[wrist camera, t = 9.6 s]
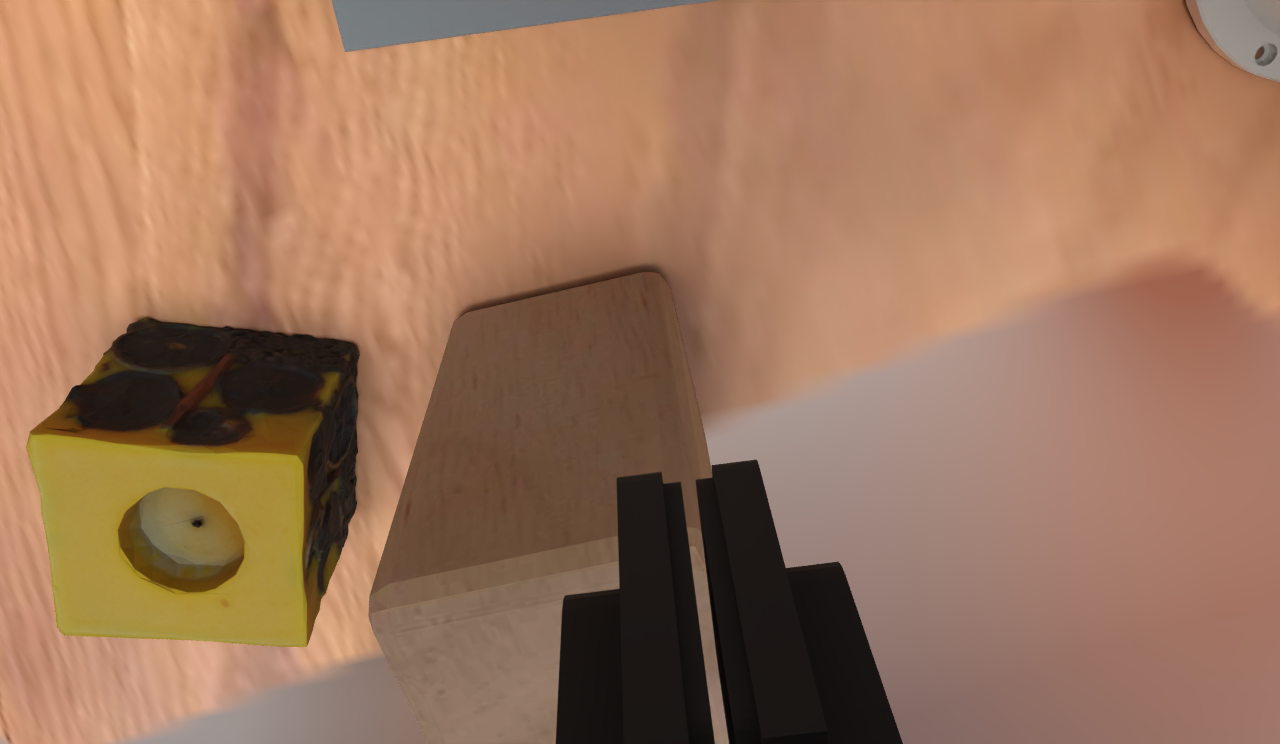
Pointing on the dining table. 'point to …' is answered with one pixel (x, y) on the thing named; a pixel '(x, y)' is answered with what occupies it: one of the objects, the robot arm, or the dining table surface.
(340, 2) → the mat
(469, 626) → the block
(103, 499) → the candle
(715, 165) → the dining table surface
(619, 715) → the robot arm
